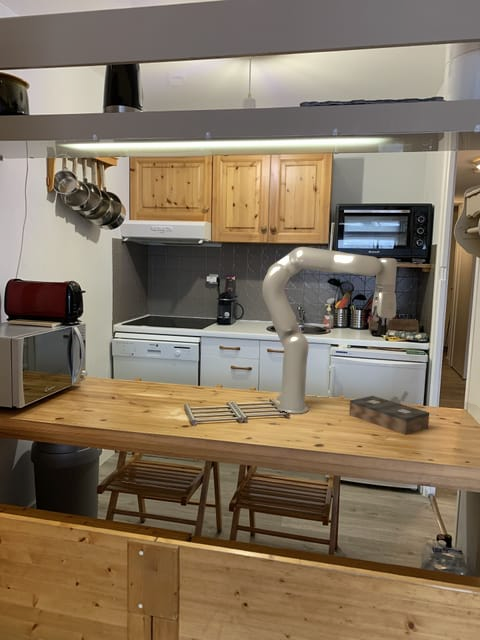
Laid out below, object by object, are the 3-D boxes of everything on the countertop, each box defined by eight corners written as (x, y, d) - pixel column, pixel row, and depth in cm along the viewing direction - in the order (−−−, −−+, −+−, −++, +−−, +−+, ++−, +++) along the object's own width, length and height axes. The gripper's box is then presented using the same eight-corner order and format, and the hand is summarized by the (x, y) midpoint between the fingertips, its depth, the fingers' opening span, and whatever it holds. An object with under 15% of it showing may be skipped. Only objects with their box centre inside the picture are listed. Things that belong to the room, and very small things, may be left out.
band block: (349, 415, 193) (350, 400, 192) (371, 409, 201) (372, 395, 200) (405, 434, 172) (406, 418, 171) (428, 428, 180) (429, 412, 180)
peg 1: (365, 415, 193) (366, 401, 192) (371, 414, 195) (372, 399, 194) (373, 418, 189) (374, 403, 189) (380, 417, 192) (381, 402, 191)
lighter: (389, 409, 204) (391, 390, 203) (389, 407, 205) (390, 389, 204) (407, 410, 202) (408, 391, 201) (406, 409, 204) (408, 390, 203)
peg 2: (395, 426, 181) (396, 410, 181) (401, 424, 184) (402, 408, 183) (404, 429, 178) (405, 413, 178) (410, 427, 181) (412, 411, 180)
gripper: (380, 289, 185) (377, 337, 187) (404, 289, 194) (400, 335, 196) (365, 288, 191) (362, 334, 193) (388, 288, 200) (385, 332, 202)
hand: (381, 334), depth 194 cm, fingers closed
